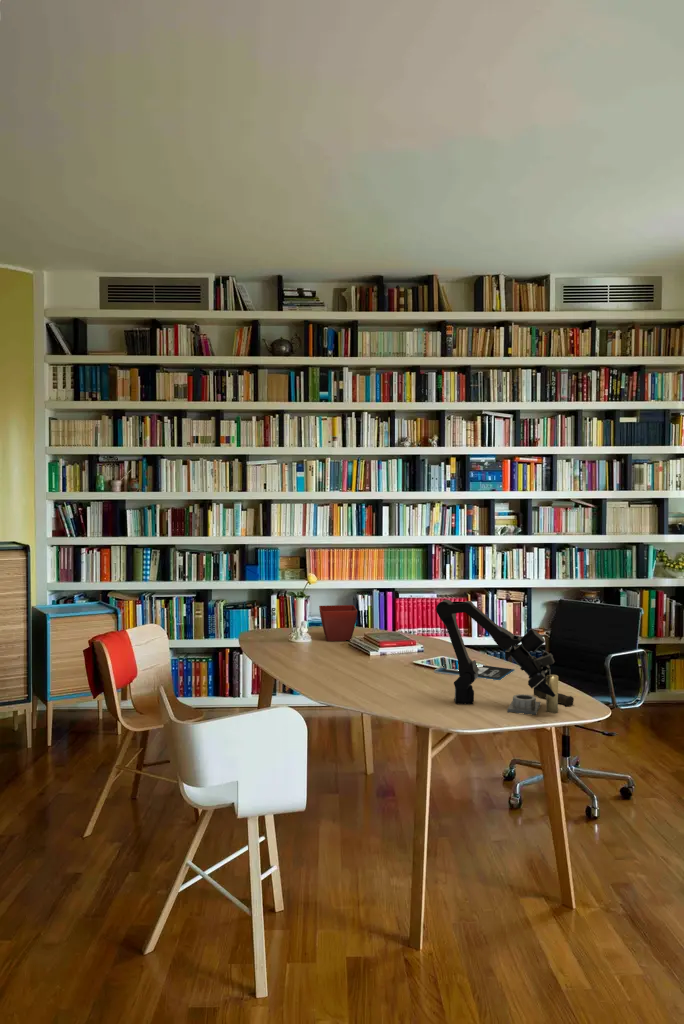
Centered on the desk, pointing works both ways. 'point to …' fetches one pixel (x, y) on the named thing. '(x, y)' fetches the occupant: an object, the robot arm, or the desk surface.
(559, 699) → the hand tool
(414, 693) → the desk surface
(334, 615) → the plant pot
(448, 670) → the sketchbook
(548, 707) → the brass hinge pin
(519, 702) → the plate with ring collar
